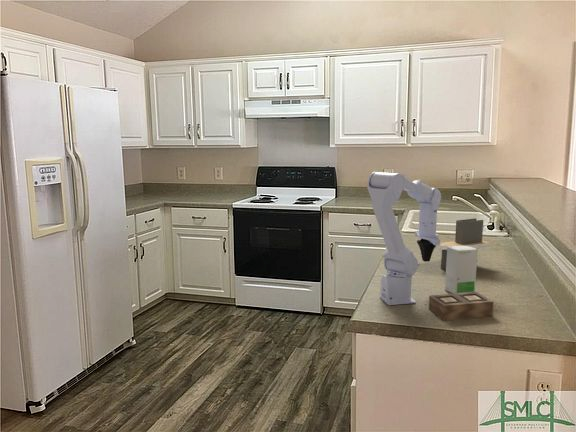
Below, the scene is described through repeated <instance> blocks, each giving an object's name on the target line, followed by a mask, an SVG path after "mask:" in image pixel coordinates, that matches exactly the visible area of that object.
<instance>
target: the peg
mask: <svg viewBox="0 0 576 432" xmlns="http://www.w3.org/2000/svg"><path fill="white" fill-rule="evenodd" d="M440 299H442V300H443V301H445V302H453V301H456V300H455V299H453V298H452V297H448V298H440Z"/></svg>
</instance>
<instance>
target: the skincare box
mask: <svg viewBox="0 0 576 432" xmlns="http://www.w3.org/2000/svg"><path fill="white" fill-rule="evenodd" d="M478 251H479V248H478V249H476V248H472V247H469V246H448V247H447V261H446V269H445V281H444V290H445V291H447V292H449V294H455V293H468V292H476V281H477V279H476V277H477V263H478V253H479V252H478Z"/></svg>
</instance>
